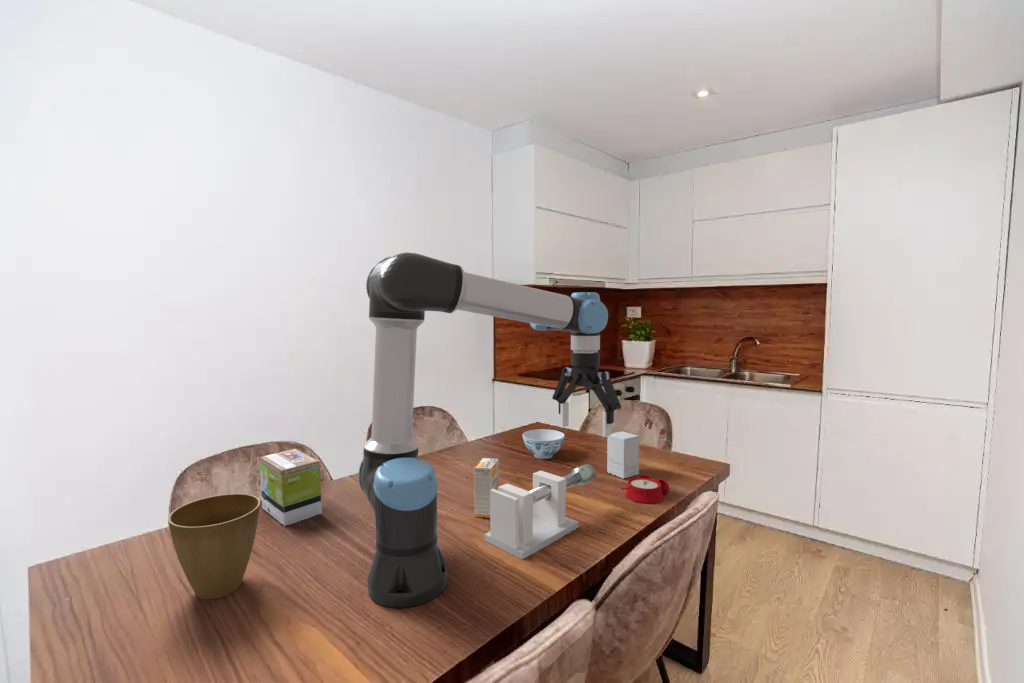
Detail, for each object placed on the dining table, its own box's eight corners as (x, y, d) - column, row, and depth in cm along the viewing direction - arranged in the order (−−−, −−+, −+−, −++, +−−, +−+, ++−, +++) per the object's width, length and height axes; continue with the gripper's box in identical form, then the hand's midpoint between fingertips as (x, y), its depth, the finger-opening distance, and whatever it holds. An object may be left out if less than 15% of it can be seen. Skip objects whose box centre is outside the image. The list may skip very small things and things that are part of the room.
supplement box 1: (492, 518, 122) (491, 468, 121) (474, 517, 123) (473, 467, 122) (499, 505, 130) (499, 458, 129) (482, 504, 131) (481, 457, 130)
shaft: (581, 478, 131) (581, 462, 130) (595, 483, 127) (595, 466, 127) (524, 504, 114) (524, 485, 114) (538, 510, 111) (538, 490, 111)
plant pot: (163, 622, 83) (157, 532, 81) (183, 577, 96) (178, 500, 95) (260, 600, 89) (256, 516, 87) (266, 561, 102) (262, 488, 101)
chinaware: (566, 462, 164) (566, 440, 163) (522, 462, 164) (522, 440, 163) (562, 449, 179) (562, 429, 178) (522, 449, 179) (522, 429, 178)
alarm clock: (615, 485, 134) (643, 461, 144) (618, 505, 136) (645, 479, 146) (649, 495, 127) (675, 469, 137) (651, 516, 128) (677, 489, 138)
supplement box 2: (639, 474, 152) (640, 435, 151) (623, 479, 148) (624, 439, 147) (622, 468, 159) (622, 430, 158) (606, 472, 154) (606, 434, 153)
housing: (541, 512, 125) (541, 466, 124) (578, 527, 117) (578, 477, 116) (484, 540, 111) (484, 487, 110) (522, 559, 102) (522, 502, 101)
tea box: (260, 509, 128) (258, 455, 126) (298, 498, 135) (296, 447, 134) (283, 527, 117) (281, 469, 116) (323, 514, 125) (321, 459, 124)
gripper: (635, 353, 119) (634, 436, 121) (557, 347, 137) (557, 420, 138) (619, 356, 114) (618, 443, 116) (539, 349, 131) (540, 425, 133)
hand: (584, 431), depth 127 cm, fingers open, 13 cm apart
